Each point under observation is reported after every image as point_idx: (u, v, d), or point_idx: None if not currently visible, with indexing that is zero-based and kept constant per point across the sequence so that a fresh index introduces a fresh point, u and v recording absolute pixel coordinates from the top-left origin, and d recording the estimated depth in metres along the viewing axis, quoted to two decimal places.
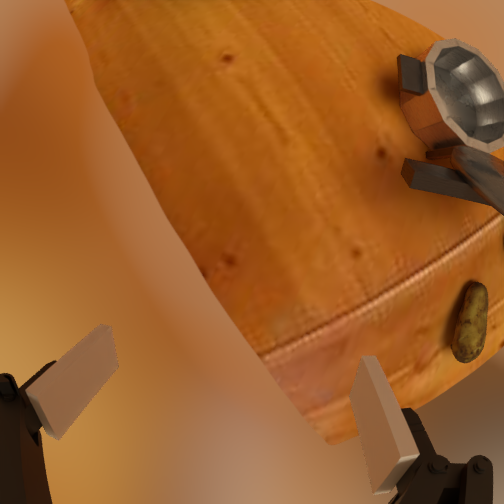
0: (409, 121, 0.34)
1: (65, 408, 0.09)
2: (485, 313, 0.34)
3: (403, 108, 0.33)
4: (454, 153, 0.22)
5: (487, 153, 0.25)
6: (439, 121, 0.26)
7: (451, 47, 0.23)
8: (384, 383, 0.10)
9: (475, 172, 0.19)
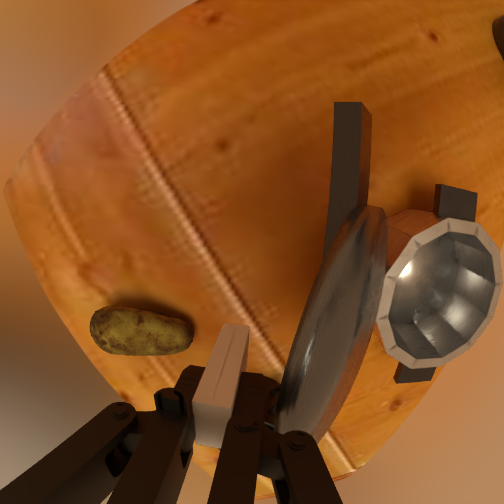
0: (392, 217, 0.31)
1: None
2: (153, 350, 0.33)
3: (406, 210, 0.30)
4: (385, 219, 0.18)
5: (377, 312, 0.24)
6: (409, 234, 0.23)
7: (493, 273, 0.22)
8: (240, 347, 0.13)
9: (374, 232, 0.15)
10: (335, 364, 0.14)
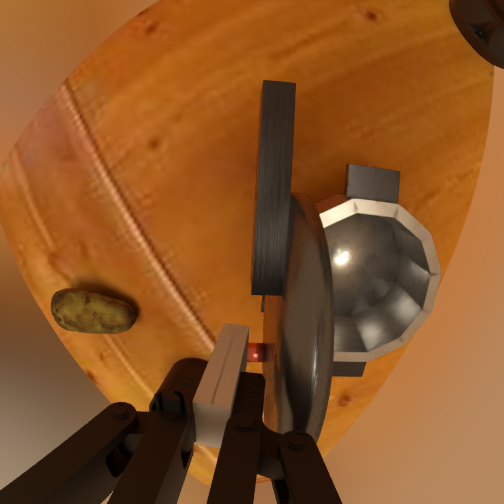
0: (316, 203, 0.32)
1: None
2: (100, 327, 0.35)
3: (332, 196, 0.32)
4: None
5: None
6: None
7: (426, 261, 0.24)
8: (239, 347, 0.13)
9: None
10: None
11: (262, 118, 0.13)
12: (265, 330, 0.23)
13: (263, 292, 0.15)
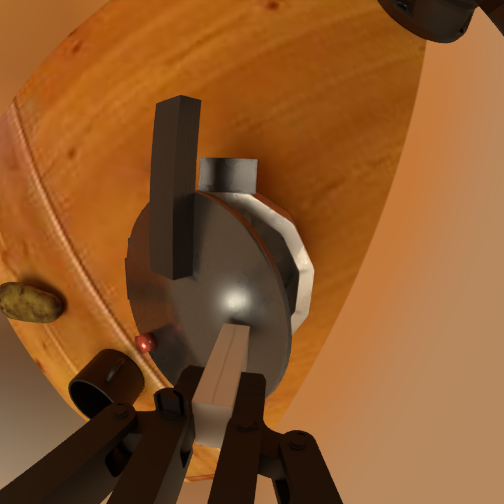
0: None
1: None
2: (33, 316, 0.34)
3: None
4: None
5: None
6: None
7: None
8: (240, 347, 0.13)
9: None
10: None
11: (178, 128, 0.15)
12: (145, 320, 0.23)
13: (181, 276, 0.17)
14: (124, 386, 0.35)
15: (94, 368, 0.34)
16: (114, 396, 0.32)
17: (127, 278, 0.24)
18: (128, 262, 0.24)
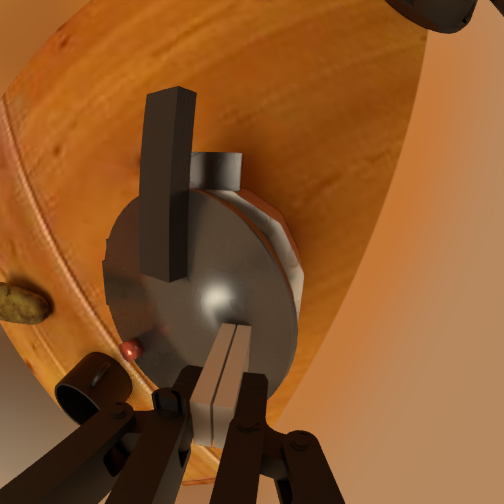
0: None
1: None
2: (20, 318, 0.32)
3: None
4: None
5: None
6: None
7: (281, 260, 0.22)
8: (242, 347, 0.13)
9: None
10: None
11: (175, 121, 0.14)
12: (128, 326, 0.22)
13: (176, 277, 0.16)
14: (110, 391, 0.33)
15: (79, 372, 0.32)
16: (99, 401, 0.30)
17: (105, 282, 0.22)
18: (106, 265, 0.22)
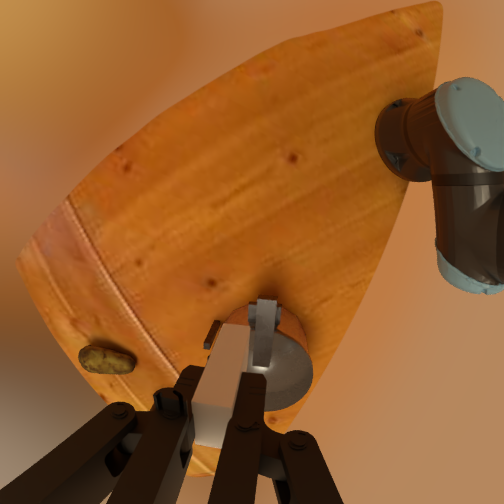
0: (240, 308, 0.52)
1: None
2: (113, 371, 0.54)
3: None
4: None
5: None
6: None
7: None
8: (240, 347, 0.13)
9: None
10: None
11: (275, 314, 0.38)
12: None
13: None
14: None
15: None
16: None
17: None
18: None
